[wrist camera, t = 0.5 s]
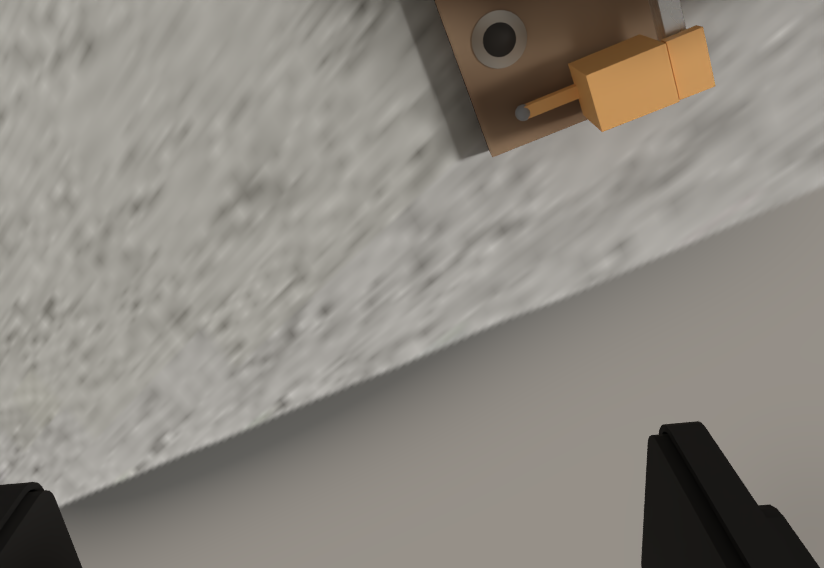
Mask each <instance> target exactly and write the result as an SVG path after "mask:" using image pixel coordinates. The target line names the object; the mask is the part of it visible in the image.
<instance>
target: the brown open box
mask: <svg viewBox="0 0 824 568" xmlns="http://www.w3.org/2000/svg"><path fill="white" fill-rule="evenodd" d="M434 1H435V3H436V6H437V9H438V12H439V14H440V17H441V20H442V23H443V25H444V28H445V31H446V33H447V36H448V39H449V42H450V44H451V47H452V50H453V53H454V55H455V58H456V61H457V64H458V66H459V69H460V72H461V75H462V77H463V80H464V83H465V85H466V88H467V91H468V94H469V96H470V99H471V102H472V105H473V107H474V110H475V113H476V116H477V118H478V121H479V124H480V126H481V129H482V132H483V135H484V137H485V140H486V143H487V146H488V148H489V151H490V153H491V155H492V157H494V156H497V155H499V154H502V153H504V152H507V151H509V150H512V149H514V148H517V147H519V146H522V145H524V144H527V143H530V142H532V141H535V140H537V139H540V138H542V137H545V136H547V135H550V134H552V133H555V132H557V131H560V130H562V129H565V128H567V127H570V126H572V125H575V124H577V123H580V122H582V121H585V120H587V118H586V117H585V116H584V115H583V112H582V109H581V106H580V102H579V99H576V100H574V101H571V102H569V103H566V104H564V105H561V106H559V107H556V108H554V109H551V110H549V111H547V112H544V113H542V114H539V115H537V116H534V117H532V118H529V119H528V120H526V121H520V120H518V119H517V118H516V116H515V110H516V108H517V107H518V106H519V105H522V104H526V103H528V102H531V101H533V100H536V99H538V98H541V97H543V96H545V95H548V94H550V93H553V92H555V91H558V90H560V89H563V88H565V87H568V86H570V85H572V84H574V82H573V79H572V76H571V72H570V69H569V66H568V64H569V63H571V62H574V61H576V60H578V59H581V58H583V57H586V56H588V55H591V54H593V53H595V52H598V51H600V50H603V49H605V48H608V47H610V46H612V45H615V44H617V43H620V42H622V41H625V40H627V39H629V38H632V37H634V36H637V35H639V34H640V35H643V36H646V37H649V38H652V39H655V40H658V39H657V35H656V30H655V26H654V22H653V18H652V14H651V10H650V6H649V1H648V0H434Z"/></svg>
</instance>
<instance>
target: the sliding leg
mask: <svg viewBox="0 0 824 568" xmlns="http://www.w3.org/2000/svg"><path fill="white" fill-rule="evenodd" d="M568 66H569V69H570V72H571V76H572V79H573V82H574V84H572V85H570V86H568V87H565V88H563V89H560V90H558V91H555V92H553V93H550V94H548V95H545V96H543V97H541V98H538V99H536V100H533V101H531V102H528V103H526V104H522V105H519V106H518V107H517V108H516V110H515V116H516V118H517V119H518V120H520V121H526V120H528V119H529V118H532V117H534V116H537V115H539V114H542V113H544V112H547V111H549V110H551V109H554V108H556V107H559V106H561V105H564V104H566V103H569V102H571V101H574V100H576V99H579V102H580V106H581V109H582V112H583V115H584V116H585V117H586V118H587V119H588V120H589V121H590V122H592V123H593V124H594V125H595V126H596V127H597V128H598V129H599V130H601V131H602V132H603V131H606V130H609V129H611V128H614V127H616V126H619V125H621V124H624V123H626V122H629V121H631V120H634V119H636V118H639V117H642V116H644V115H647V114H649V113H652V112H654V111H657V110H659V109H662V108H664V107H667V106H670V105H672V104H675V103H677V102H679V100H681V99H684V98H686V97H689V96H691V95H694V94H697V93H699V92H702V91H704V90H707V89H709V88H712V87H714V86H715V82H714V77H713V72H712V67H711V63H710V58H709V53H708V49H707V44H706V39H705V34H704V30H703V27H701V26H697V25H696V26H694V27H691V28H689V29H686V30H684V31H681V32H679V33H677V34H674V35H672V36H669V37H667V38H664V39H662V40H661V41H658V40H655V39H652V38H649V37H646V36H643V35H640V34H639V35H637V36H634V37H632V38H629V39H627V40H625V41H622V42H620V43H617V44H615V45H612V46H610V47H608V48H605V49H603V50H600V51H598V52H595V53H593V54H591V55H588V56H586V57H583V58H581V59H578V60H576V61H574V62H571V63H569V64H568Z"/></svg>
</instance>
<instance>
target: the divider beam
mask: <svg viewBox="0 0 824 568" xmlns="http://www.w3.org/2000/svg"><path fill="white" fill-rule="evenodd" d="M648 1H649V6H650V10H651V14H652V18H653V22H654V26H655V30H656V35H657V39H658V41H661V40H662V39H664V38H667V37H669V36H672V35H674V34H677V33H679V32H681V31H684V30H686V26H685V22H684V17H683V13H682V8H681V4H680V0H648Z"/></svg>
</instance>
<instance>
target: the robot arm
mask: <svg viewBox="0 0 824 568" xmlns="http://www.w3.org/2000/svg"><path fill="white" fill-rule="evenodd" d="M647 450H648V451H647V467H646V486H645V504H644V522H643V541H642V561H641V566H642V568H820V567H819V566H818V564H817V563H816V562H815V560H814V559H813V557H812V556H811V554H810V553H809V552H808V550H807V549H806V548H805V546H804V545H803V543H802V542H801V541H800V539H799V537H798V536H797V535H796V533H795V532H794V530H793V529H792V528H791V526H790V525H789V523H788V522H787V520H786V519H785V518H784V516H783V515H782V514H781V513H780V512H779V511H778V509H777V508H775V507H773V506H771V505H759V506H758V504H757V503H756V501H755V500H754V498H753V497H752V496H751V494H750V493H749V491H748V490H747V488H746V487H745V485H744V484H743V482H742V481H741V479H740V478H739V476H738V475H737V473H736V472H735V470H734V469H733V467H732V466H731V464H730V463H729V462H728V460H727V458H726V457H725V456H724V454H723V453H722V451H721V450H720V448H719V447H718V445H717V444H716V442H715V441H714V440H713V438H712V436H711V435H710V433H709V432H708V430H707V429H706V427H705V426H704V425H703V424H702V423H701V422H698V421H697V422H686V423H675V424H665V425H662V426H661V428H660V430H659V435H651V436H649V439H648V449H647ZM0 568H82V566H81V563H80V561H79V558H78V556H77V553H76V551H75V548H74V545H73V543H72V540H71V538H70V535H69V533H68V530H67V528H66V525H65V522H64V520H63V518H62V515H61V512H60V510H59V507H58V505H57V502H56V500H55V497H54V495H53V494H52V493H51V492H50V491H47V490H44V489H43V487H42V486H41V485H40V484H39V483H36V482H28V483H17V484H6V485H0Z"/></svg>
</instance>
